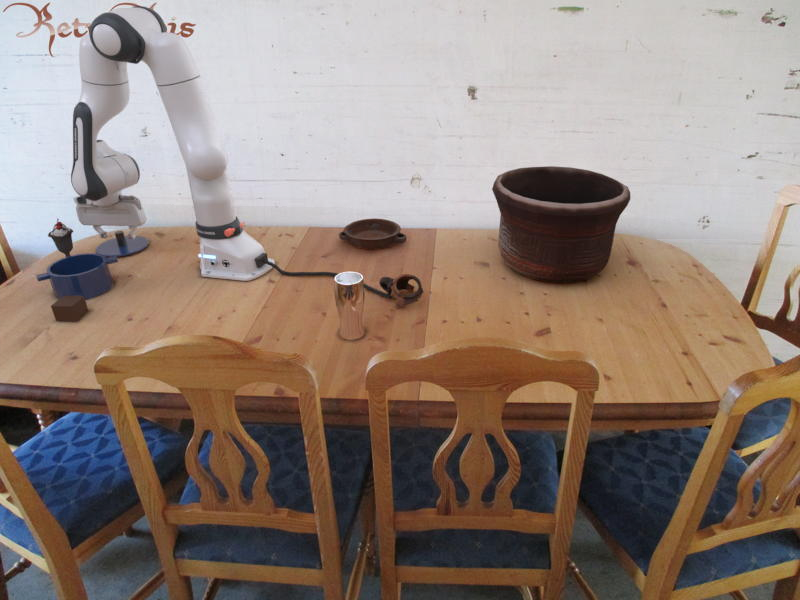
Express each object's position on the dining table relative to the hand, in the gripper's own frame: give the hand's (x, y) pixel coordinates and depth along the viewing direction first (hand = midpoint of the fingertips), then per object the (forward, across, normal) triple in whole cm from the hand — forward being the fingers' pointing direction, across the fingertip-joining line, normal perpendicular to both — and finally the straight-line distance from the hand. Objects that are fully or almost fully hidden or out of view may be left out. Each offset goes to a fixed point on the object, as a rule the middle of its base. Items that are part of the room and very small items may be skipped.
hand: (118, 238), depth 178 cm
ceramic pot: (+8, -132, -3) cm, 133 cm away
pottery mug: (+7, -91, +22) cm, 94 cm away
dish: (+7, -77, -15) cm, 79 cm away
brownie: (+5, -8, +38) cm, 39 cm away
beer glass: (+6, -81, +39) cm, 90 cm away
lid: (+5, +2, -4) cm, 6 cm away
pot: (+5, -2, +24) cm, 24 cm away
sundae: (+5, +12, +8) cm, 16 cm away
